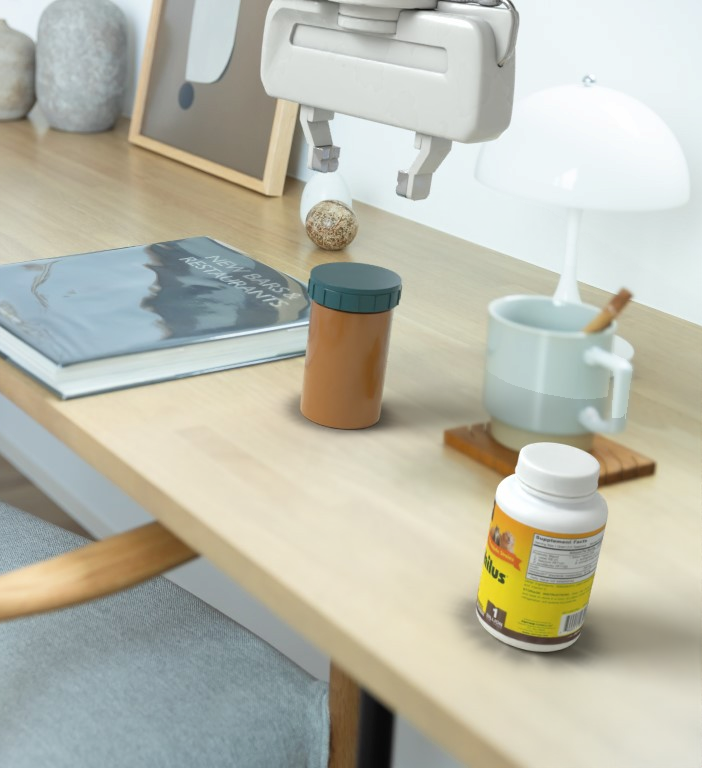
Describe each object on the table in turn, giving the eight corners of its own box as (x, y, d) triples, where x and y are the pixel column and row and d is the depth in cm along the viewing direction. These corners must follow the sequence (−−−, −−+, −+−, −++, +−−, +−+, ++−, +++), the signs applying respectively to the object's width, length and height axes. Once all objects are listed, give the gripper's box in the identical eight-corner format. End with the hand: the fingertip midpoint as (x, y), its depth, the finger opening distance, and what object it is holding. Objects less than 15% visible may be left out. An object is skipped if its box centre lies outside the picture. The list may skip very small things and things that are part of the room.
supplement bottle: (469, 591, 67) (499, 428, 63) (572, 605, 66) (608, 441, 62) (476, 648, 61) (508, 475, 57) (587, 664, 61) (627, 490, 57)
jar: (367, 396, 92) (383, 269, 88) (389, 429, 86) (408, 295, 82) (292, 396, 91) (305, 268, 87) (310, 429, 86) (324, 295, 82)
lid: (384, 283, 89) (387, 262, 88) (411, 313, 83) (414, 290, 82) (298, 283, 88) (301, 261, 87) (320, 312, 82) (322, 289, 81)
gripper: (556, -11, 71) (515, 213, 76) (319, -37, 86) (299, 151, 91) (488, -10, 67) (451, 225, 73) (254, -37, 82) (238, 158, 88)
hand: (365, 183), depth 82 cm, fingers open, 7 cm apart
